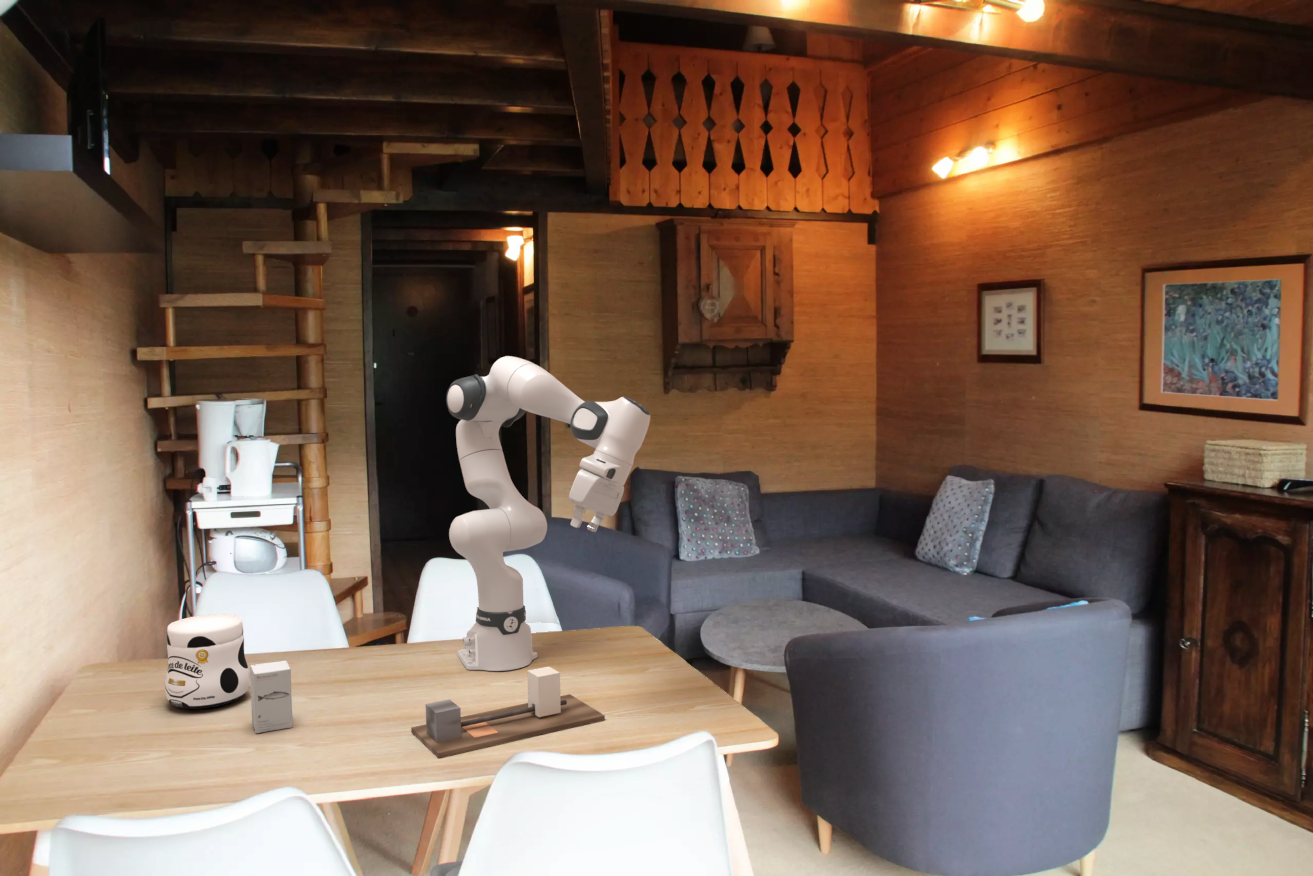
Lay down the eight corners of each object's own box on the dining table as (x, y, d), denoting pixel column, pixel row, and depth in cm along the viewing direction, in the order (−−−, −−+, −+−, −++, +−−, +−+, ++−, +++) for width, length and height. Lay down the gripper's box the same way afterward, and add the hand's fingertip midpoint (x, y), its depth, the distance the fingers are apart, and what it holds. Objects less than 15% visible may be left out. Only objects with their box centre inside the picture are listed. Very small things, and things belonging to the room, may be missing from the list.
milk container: (155, 718, 210) (151, 635, 209) (177, 692, 227) (173, 615, 226) (242, 711, 214) (238, 630, 213) (257, 686, 231) (253, 610, 229)
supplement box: (255, 734, 200) (252, 673, 199) (251, 723, 207) (249, 664, 206) (293, 728, 203) (291, 668, 202) (289, 717, 210) (286, 659, 209)
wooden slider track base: (411, 732, 200) (410, 698, 200) (569, 698, 219) (569, 667, 219) (438, 758, 187) (437, 722, 186) (604, 720, 206) (604, 687, 205)
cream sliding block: (528, 710, 208) (527, 670, 207) (549, 705, 210) (548, 666, 210) (538, 717, 203) (538, 677, 203) (560, 712, 206) (559, 672, 205)
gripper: (612, 471, 225) (588, 527, 224) (578, 457, 205) (551, 518, 205) (636, 482, 222) (612, 538, 222) (604, 468, 203) (577, 530, 203)
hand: (582, 528), depth 213 cm, fingers open, 8 cm apart
